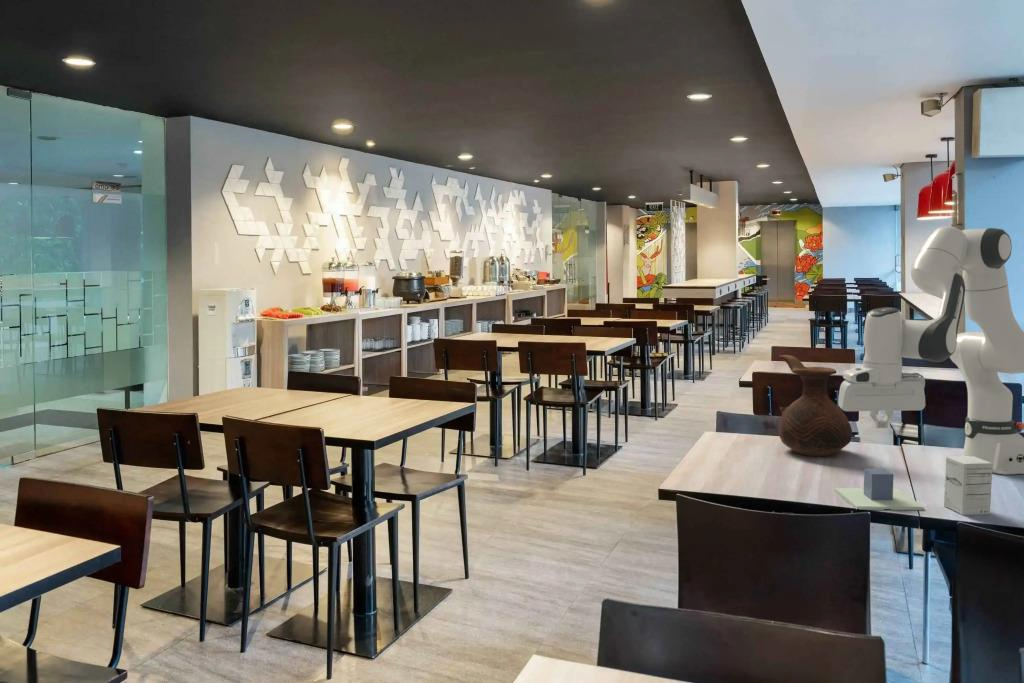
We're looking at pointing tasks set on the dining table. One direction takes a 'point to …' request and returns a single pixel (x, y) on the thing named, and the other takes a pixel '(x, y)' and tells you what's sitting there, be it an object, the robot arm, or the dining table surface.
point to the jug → (813, 415)
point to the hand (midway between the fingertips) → (880, 428)
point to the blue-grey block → (878, 484)
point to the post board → (864, 503)
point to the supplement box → (968, 485)
